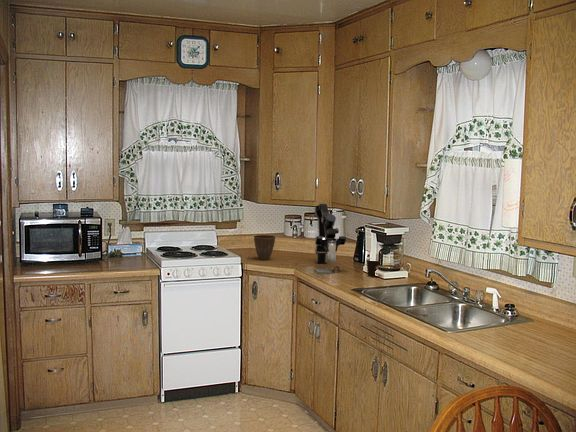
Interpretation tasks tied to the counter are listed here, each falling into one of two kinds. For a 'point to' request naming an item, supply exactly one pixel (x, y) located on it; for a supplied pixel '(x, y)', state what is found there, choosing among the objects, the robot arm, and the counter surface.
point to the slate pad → (323, 271)
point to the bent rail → (336, 268)
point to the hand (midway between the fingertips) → (332, 251)
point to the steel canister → (331, 251)
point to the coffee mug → (372, 267)
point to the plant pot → (264, 246)
